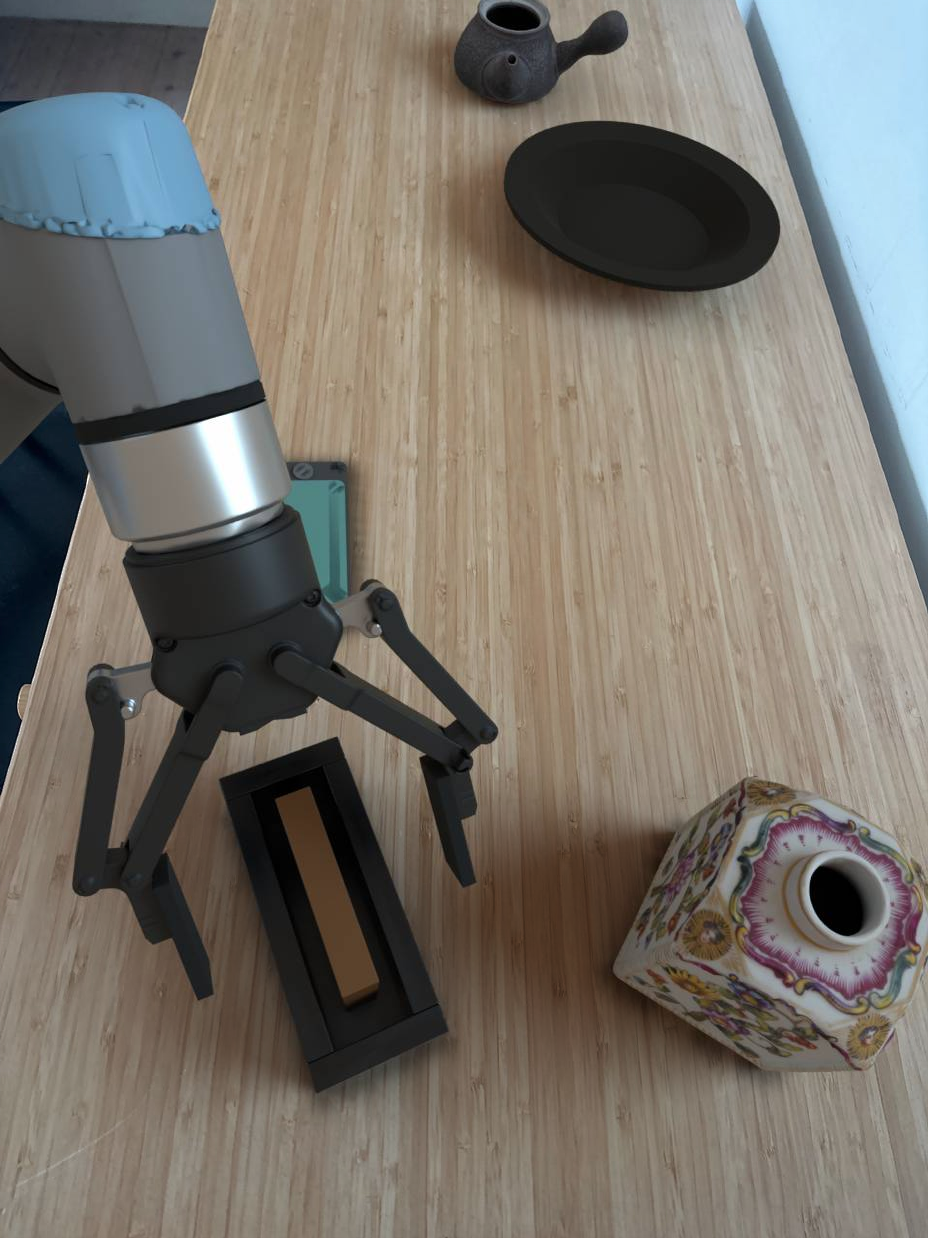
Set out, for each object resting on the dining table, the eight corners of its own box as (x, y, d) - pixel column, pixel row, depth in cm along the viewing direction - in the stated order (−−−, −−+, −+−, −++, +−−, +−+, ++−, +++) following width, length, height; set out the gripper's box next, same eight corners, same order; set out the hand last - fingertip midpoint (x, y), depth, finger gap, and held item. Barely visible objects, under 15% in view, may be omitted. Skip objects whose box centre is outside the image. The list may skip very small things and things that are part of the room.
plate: (470, 285, 86) (476, 237, 81) (526, 144, 97) (534, 94, 92) (744, 361, 85) (767, 317, 80) (768, 210, 96) (790, 163, 91)
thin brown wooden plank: (290, 846, 58) (274, 798, 48) (319, 835, 59) (309, 785, 48) (346, 1012, 54) (342, 998, 44) (377, 998, 54) (379, 981, 44)
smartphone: (347, 459, 73) (351, 616, 66) (347, 469, 74) (351, 624, 67) (257, 460, 72) (252, 619, 65) (259, 469, 73) (254, 626, 66)
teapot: (446, 120, 98) (454, 26, 89) (456, 42, 105) (464, -52, 96) (610, 143, 99) (634, 52, 90) (609, 64, 106) (631, -27, 97)
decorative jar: (676, 825, 62) (781, 741, 47) (825, 913, 60) (988, 857, 45) (603, 978, 57) (694, 942, 41) (764, 1080, 55) (924, 1083, 39)
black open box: (237, 817, 60) (217, 778, 52) (341, 778, 62) (337, 735, 54) (323, 1091, 53) (316, 1094, 45) (437, 1037, 54) (449, 1031, 47)
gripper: (451, 440, 43) (527, 800, 50) (-95, 589, 36) (86, 979, 44) (511, 455, 36) (589, 867, 44) (-145, 641, 30) (78, 1091, 37)
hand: (337, 924), depth 44 cm, fingers open, 13 cm apart
